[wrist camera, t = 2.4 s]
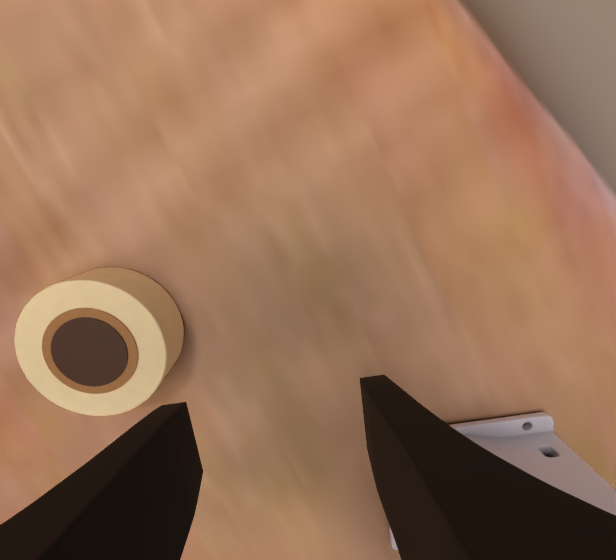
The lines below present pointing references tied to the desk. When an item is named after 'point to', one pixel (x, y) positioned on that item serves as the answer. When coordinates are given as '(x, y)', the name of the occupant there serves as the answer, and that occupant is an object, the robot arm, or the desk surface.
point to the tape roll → (99, 340)
